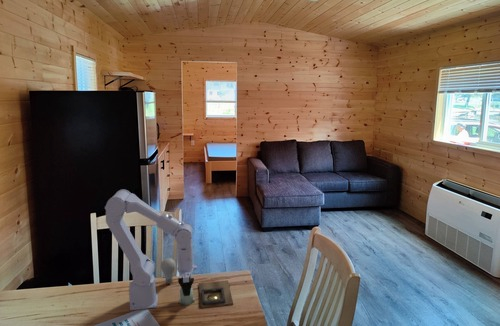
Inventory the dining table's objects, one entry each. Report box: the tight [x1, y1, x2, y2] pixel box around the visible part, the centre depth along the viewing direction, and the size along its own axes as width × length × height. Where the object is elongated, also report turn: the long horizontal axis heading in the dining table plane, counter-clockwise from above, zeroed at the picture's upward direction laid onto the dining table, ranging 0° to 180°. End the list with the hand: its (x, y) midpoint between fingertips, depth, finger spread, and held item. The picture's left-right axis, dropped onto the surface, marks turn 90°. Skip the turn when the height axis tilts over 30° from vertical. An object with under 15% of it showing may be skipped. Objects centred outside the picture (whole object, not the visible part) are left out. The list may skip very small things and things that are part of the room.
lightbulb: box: [160, 257, 177, 285], centre depth 148 cm, size 6×6×11 cm
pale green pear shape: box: [178, 286, 196, 307], centre depth 136 cm, size 6×5×5 cm
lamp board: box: [198, 279, 234, 309], centre depth 141 cm, size 12×16×1 cm
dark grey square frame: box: [202, 288, 225, 305], centre depth 138 cm, size 8×8×1 cm
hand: (186, 289), depth 136 cm, fingers open, 7 cm apart
